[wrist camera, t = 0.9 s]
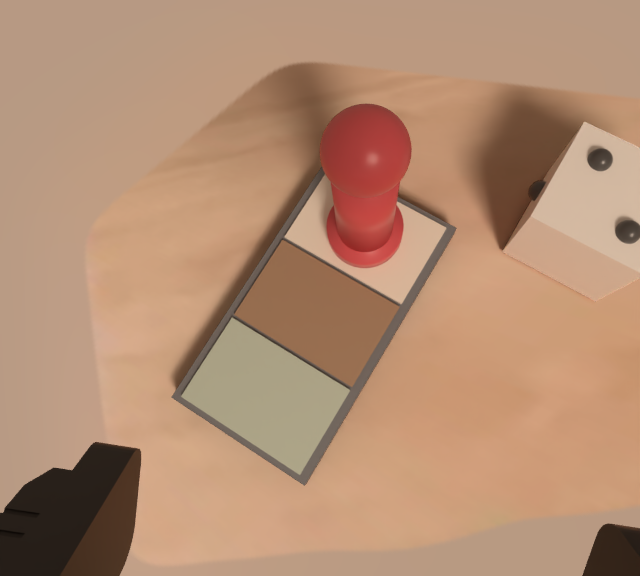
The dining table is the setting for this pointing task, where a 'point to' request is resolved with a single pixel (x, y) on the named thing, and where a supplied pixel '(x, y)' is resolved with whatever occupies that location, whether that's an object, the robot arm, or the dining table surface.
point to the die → (585, 216)
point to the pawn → (365, 183)
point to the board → (307, 334)
